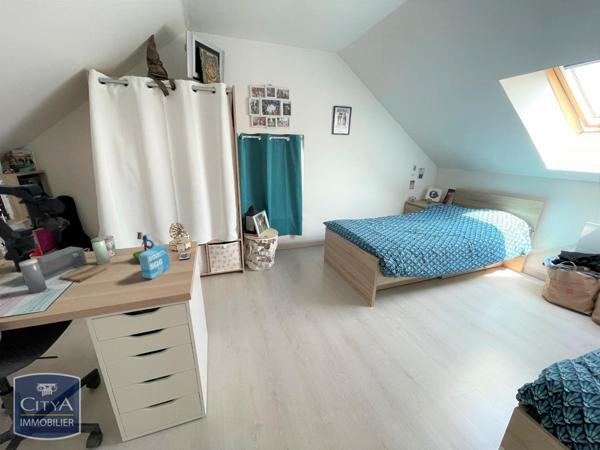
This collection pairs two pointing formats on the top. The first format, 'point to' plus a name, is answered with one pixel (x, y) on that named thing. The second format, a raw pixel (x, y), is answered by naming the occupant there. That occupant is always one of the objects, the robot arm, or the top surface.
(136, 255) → the pirate figurine
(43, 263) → the slate unit
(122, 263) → the top surface
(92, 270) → the walnut plate
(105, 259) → the sage canister
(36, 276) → the grey cylinder
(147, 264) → the data package
